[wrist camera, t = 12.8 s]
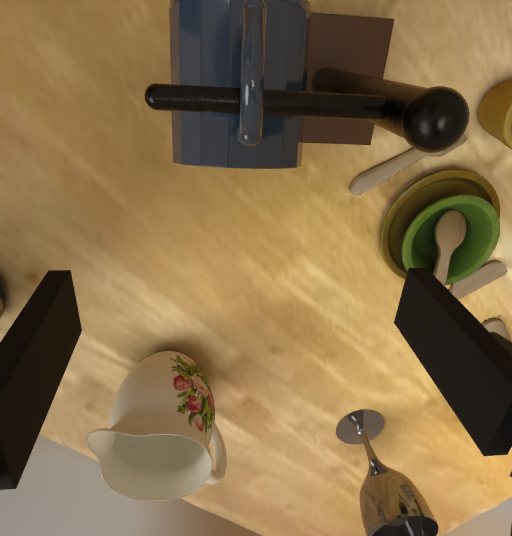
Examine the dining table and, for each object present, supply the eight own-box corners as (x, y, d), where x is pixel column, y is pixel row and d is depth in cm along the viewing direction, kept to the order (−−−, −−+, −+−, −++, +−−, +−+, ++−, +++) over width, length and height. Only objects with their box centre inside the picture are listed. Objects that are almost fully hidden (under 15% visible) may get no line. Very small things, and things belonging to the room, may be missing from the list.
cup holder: (168, 2, 32) (114, -54, 13) (387, 20, 34) (613, -8, 15) (172, 134, 37) (138, 232, 18) (365, 141, 39) (516, 236, 20)
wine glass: (374, 447, 62) (420, 556, 49) (325, 443, 60) (359, 555, 47) (395, 410, 58) (450, 516, 45) (344, 405, 57) (385, 514, 43)
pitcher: (191, 432, 56) (187, 538, 44) (85, 358, 48) (46, 464, 36) (253, 391, 53) (267, 491, 41) (153, 306, 46) (135, 400, 34)
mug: (294, 28, 30) (286, 161, 33) (174, 19, 29) (177, 158, 32) (357, -49, 18) (336, 177, 20) (152, -69, 16) (160, 172, 19)
